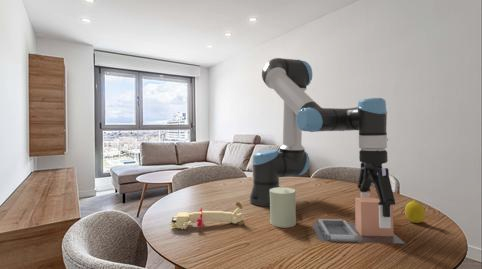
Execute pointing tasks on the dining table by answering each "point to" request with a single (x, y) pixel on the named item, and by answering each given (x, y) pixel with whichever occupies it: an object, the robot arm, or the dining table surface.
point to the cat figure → (207, 217)
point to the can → (282, 207)
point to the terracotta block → (370, 218)
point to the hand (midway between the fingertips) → (374, 219)
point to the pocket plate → (347, 233)
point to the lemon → (414, 212)
